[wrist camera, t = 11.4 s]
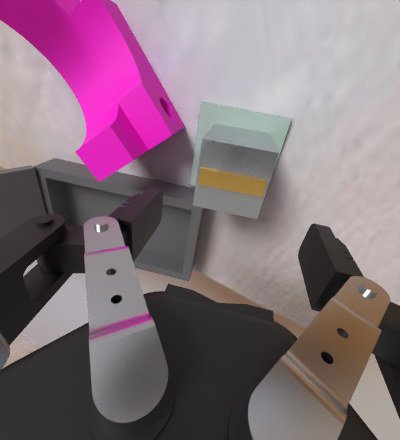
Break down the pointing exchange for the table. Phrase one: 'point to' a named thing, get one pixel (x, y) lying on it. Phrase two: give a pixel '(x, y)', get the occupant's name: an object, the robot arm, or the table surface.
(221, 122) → the mat
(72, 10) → the toy block
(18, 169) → the case
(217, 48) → the table surface
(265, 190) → the block
